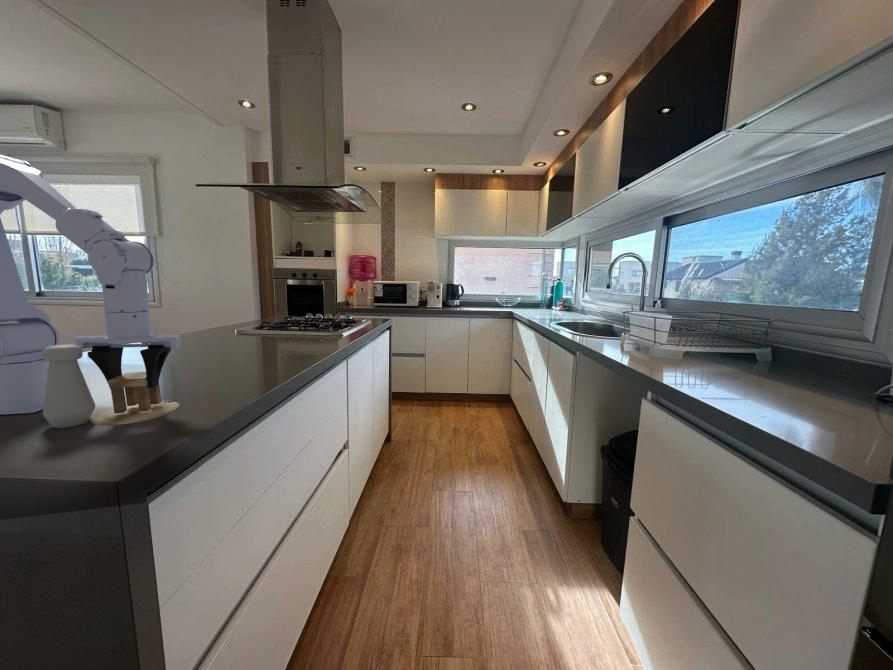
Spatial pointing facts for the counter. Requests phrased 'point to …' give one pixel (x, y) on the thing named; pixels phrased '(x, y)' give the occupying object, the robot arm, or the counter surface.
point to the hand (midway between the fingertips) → (134, 387)
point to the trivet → (133, 414)
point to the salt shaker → (66, 388)
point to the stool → (133, 392)
